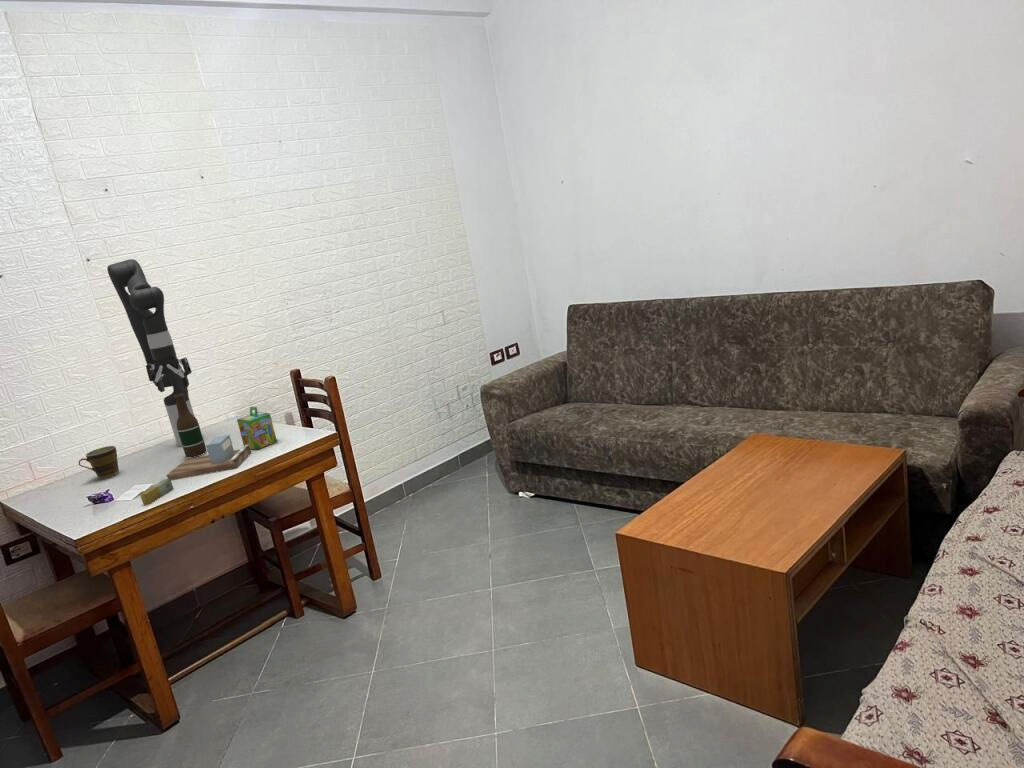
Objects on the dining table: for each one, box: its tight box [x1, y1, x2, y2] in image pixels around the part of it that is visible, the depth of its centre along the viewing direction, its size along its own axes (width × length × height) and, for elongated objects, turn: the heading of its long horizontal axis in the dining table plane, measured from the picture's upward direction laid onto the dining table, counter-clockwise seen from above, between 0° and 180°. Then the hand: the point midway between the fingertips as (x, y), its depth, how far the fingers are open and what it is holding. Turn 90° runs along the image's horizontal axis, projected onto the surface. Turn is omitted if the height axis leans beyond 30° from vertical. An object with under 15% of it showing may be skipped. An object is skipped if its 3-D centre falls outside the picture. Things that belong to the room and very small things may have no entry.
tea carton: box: [205, 434, 234, 464], centre depth 257 cm, size 5×9×7 cm, turn 1°
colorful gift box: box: [236, 406, 278, 451], centre depth 272 cm, size 9×9×15 cm
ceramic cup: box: [78, 445, 120, 480], centre depth 268 cm, size 13×10×10 cm
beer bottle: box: [174, 393, 207, 458], centre depth 275 cm, size 8×8×24 cm
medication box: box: [139, 478, 175, 505], centre depth 236 cm, size 12×3×4 cm, turn 168°
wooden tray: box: [166, 445, 252, 481], centre depth 258 cm, size 16×24×3 cm, turn 91°
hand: (174, 389), depth 259 cm, fingers open, 8 cm apart
